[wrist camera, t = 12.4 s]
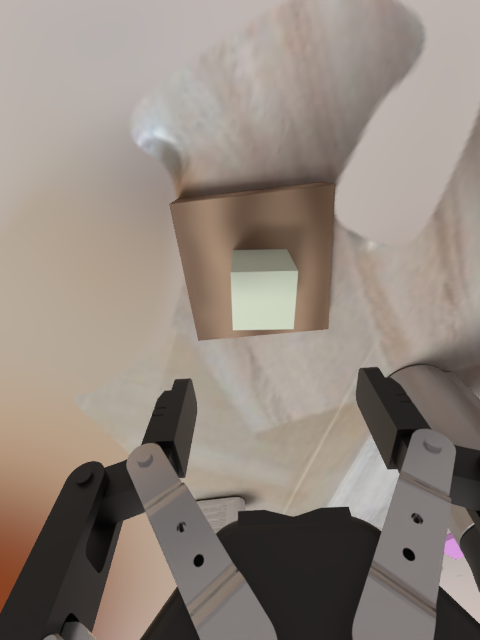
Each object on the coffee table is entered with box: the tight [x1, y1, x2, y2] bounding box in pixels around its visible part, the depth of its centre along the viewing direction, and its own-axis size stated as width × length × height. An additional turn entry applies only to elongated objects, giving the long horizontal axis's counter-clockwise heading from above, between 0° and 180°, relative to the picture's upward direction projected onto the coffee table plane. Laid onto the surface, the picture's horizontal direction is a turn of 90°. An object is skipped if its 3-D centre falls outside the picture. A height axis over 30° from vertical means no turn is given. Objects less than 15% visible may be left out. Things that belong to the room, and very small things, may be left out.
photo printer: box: [197, 497, 245, 534], centre depth 48 cm, size 10×4×12 cm, turn 103°
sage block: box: [231, 249, 298, 330], centre depth 25 cm, size 5×5×6 cm
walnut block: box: [169, 182, 335, 341], centre depth 29 cm, size 14×14×4 cm
